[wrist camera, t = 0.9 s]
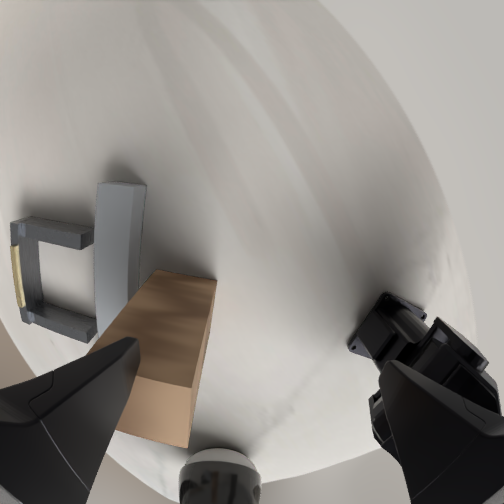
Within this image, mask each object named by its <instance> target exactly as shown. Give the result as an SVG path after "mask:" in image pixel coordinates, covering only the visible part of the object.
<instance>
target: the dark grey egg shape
mask: <svg viewBox="0 0 504 504" xmlns="http://www.w3.org/2000/svg"><path fill="white" fill-rule="evenodd" d="M260 494H261V476H260V474H259V473H258V472H257V470H256V468H255V466H254V464H253V463H252V462H251V460H250V459H248V458H247V457H246V456H244V455H243V454H241V453H239V452H236V451H233V450H229V449H223V448H212V449H206V450H202V451H200V452H198V453H196V454H194V455H193V456H191V457H190V458H189V460H188V461H187V462H186V464H185V466H184V467H182V468H181V470H180V474H179V501H180V504H259V501H260Z"/></svg>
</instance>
